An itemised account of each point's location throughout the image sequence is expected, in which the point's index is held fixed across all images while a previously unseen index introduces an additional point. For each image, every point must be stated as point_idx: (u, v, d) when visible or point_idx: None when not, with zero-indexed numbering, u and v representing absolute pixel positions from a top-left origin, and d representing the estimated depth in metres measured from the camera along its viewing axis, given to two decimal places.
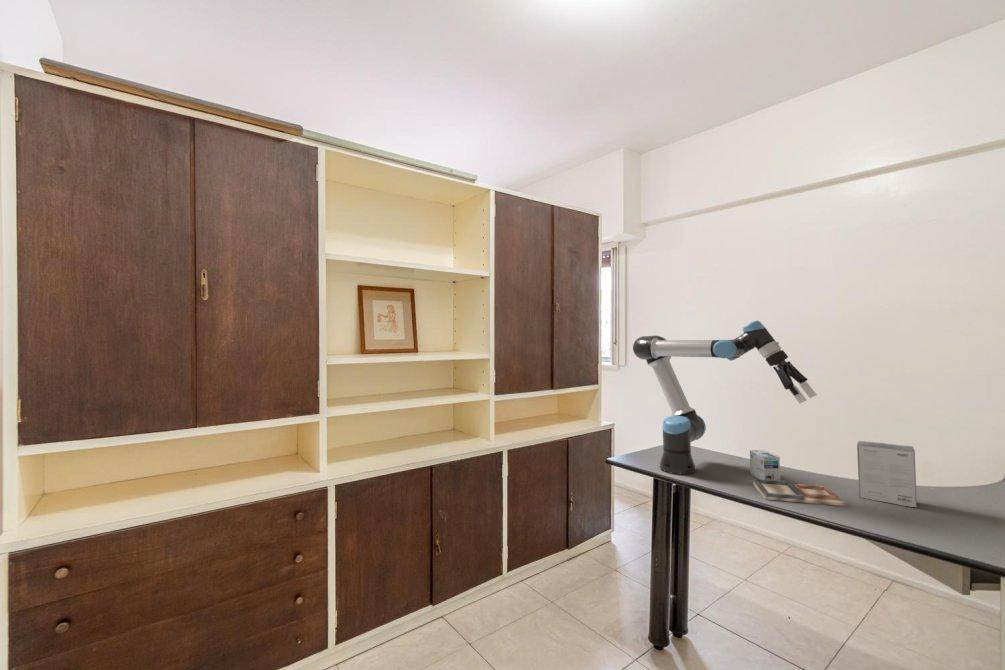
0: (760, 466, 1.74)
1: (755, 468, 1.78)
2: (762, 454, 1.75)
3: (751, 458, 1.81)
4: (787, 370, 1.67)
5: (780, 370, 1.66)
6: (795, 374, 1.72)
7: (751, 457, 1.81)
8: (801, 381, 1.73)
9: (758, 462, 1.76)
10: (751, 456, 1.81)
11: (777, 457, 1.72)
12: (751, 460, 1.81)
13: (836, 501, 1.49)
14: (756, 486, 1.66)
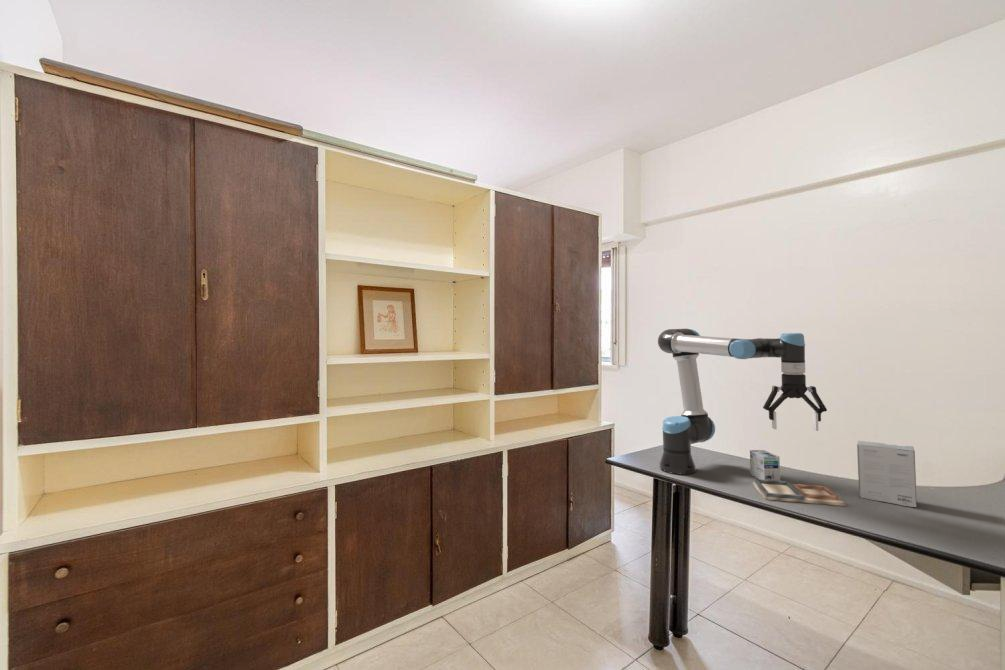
0: (760, 466, 1.74)
1: (755, 468, 1.78)
2: (762, 454, 1.75)
3: (751, 458, 1.81)
4: (784, 395, 1.59)
5: (772, 392, 1.61)
6: (807, 402, 1.57)
7: (751, 457, 1.81)
8: (816, 411, 1.57)
9: (758, 462, 1.76)
10: (751, 456, 1.81)
11: (777, 457, 1.72)
12: (751, 460, 1.81)
13: (836, 501, 1.49)
14: (756, 486, 1.66)
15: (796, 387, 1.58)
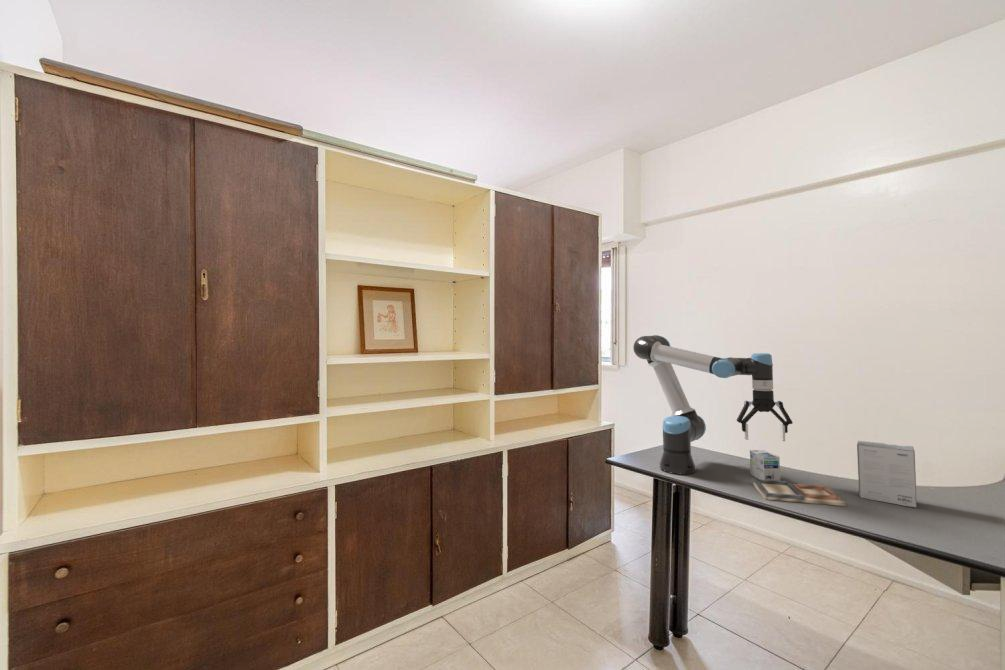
0: (760, 466, 1.74)
1: (755, 468, 1.78)
2: (762, 454, 1.75)
3: (751, 458, 1.81)
4: (754, 409, 1.76)
5: (744, 406, 1.78)
6: (775, 415, 1.75)
7: (751, 457, 1.81)
8: (783, 423, 1.75)
9: (758, 462, 1.76)
10: (751, 456, 1.81)
11: (777, 457, 1.72)
12: (751, 460, 1.81)
13: (836, 501, 1.49)
14: (756, 486, 1.66)
15: (765, 402, 1.76)
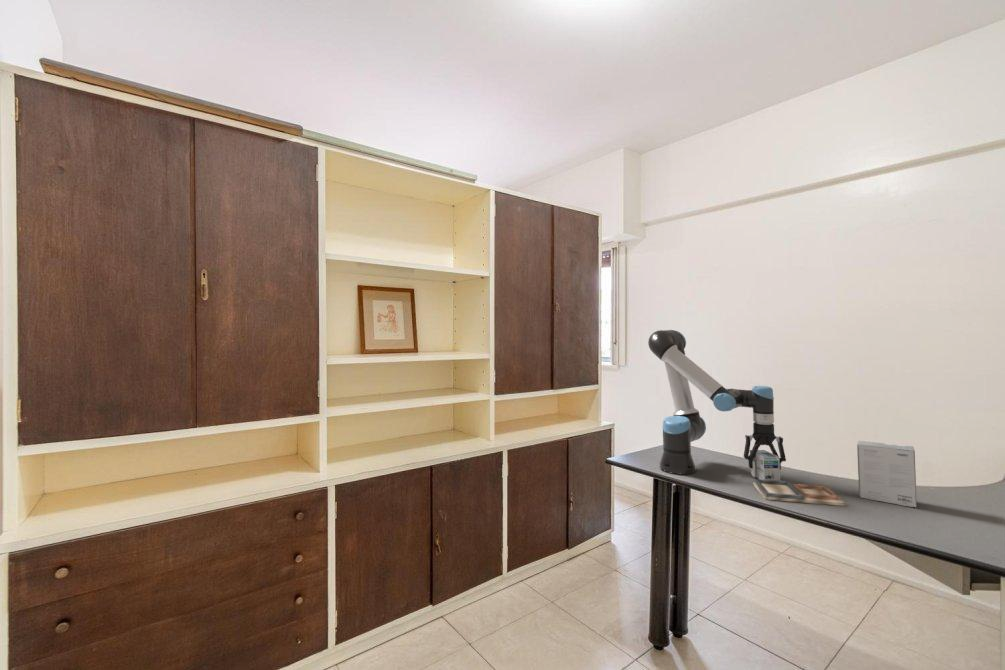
0: (760, 466, 1.74)
1: (755, 467, 1.78)
2: (762, 454, 1.75)
3: None
4: (756, 444, 1.76)
5: (746, 442, 1.78)
6: (772, 450, 1.76)
7: None
8: None
9: (758, 462, 1.76)
10: None
11: (777, 457, 1.72)
12: None
13: (836, 501, 1.49)
14: (756, 486, 1.66)
15: (766, 434, 1.76)
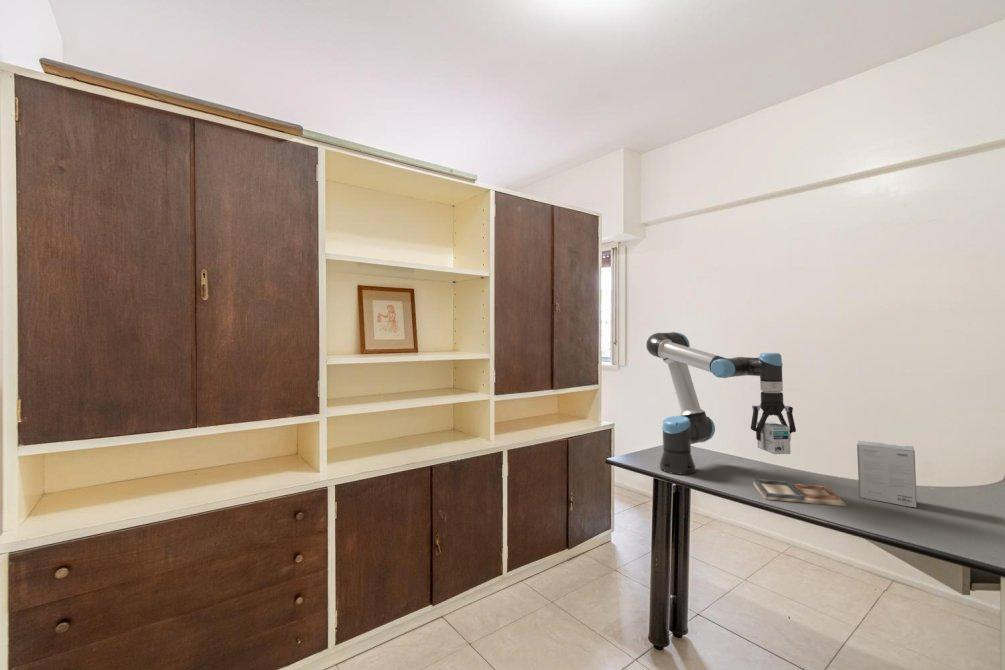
0: (769, 437, 1.63)
1: (763, 440, 1.67)
2: (771, 425, 1.64)
3: None
4: (765, 414, 1.65)
5: (754, 412, 1.67)
6: (781, 421, 1.65)
7: None
8: None
9: (767, 433, 1.65)
10: None
11: (787, 427, 1.61)
12: None
13: (836, 501, 1.49)
14: (756, 486, 1.66)
15: (775, 403, 1.65)
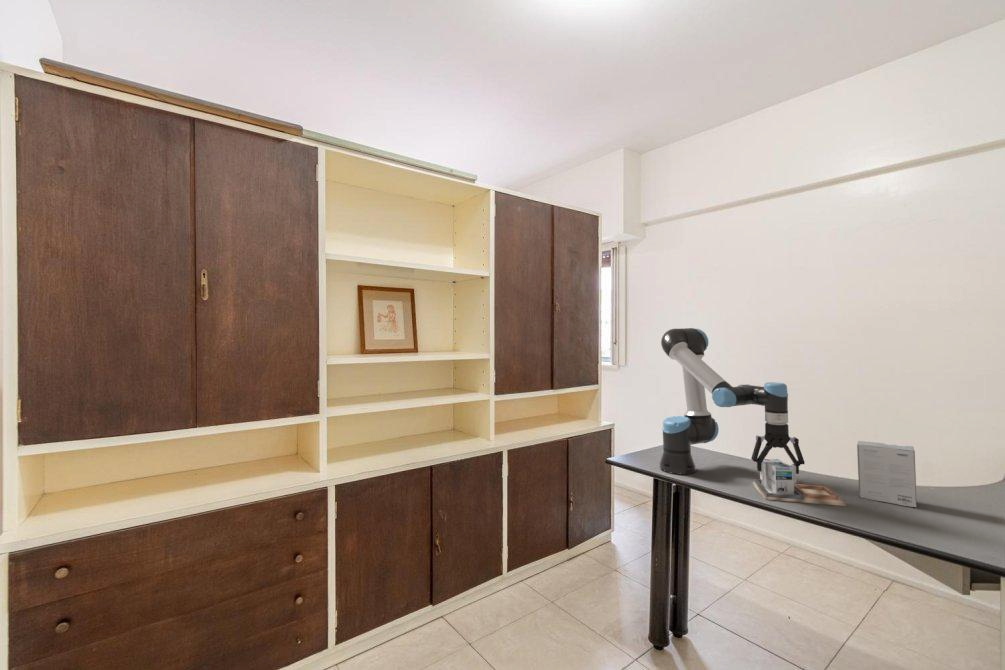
0: (771, 477, 1.58)
1: (766, 478, 1.62)
2: (774, 464, 1.59)
3: None
4: (768, 446, 1.60)
5: (757, 443, 1.62)
6: (787, 453, 1.59)
7: None
8: (794, 463, 1.59)
9: (769, 472, 1.60)
10: None
11: (791, 467, 1.55)
12: None
13: (836, 501, 1.49)
14: (756, 486, 1.66)
15: (779, 436, 1.59)
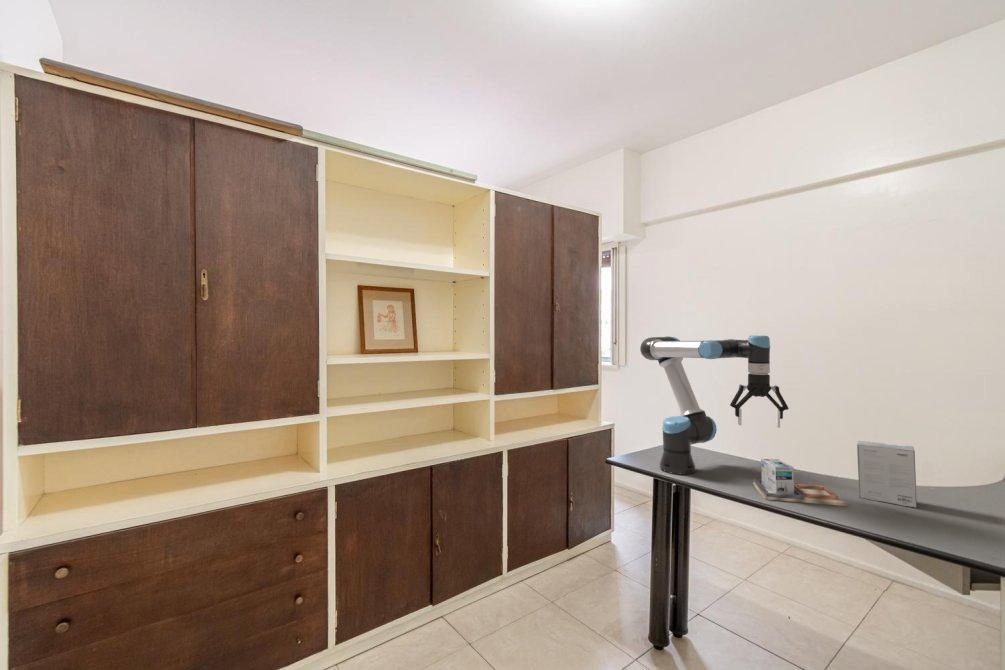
0: (771, 477, 1.58)
1: (766, 478, 1.62)
2: (774, 464, 1.59)
3: (762, 468, 1.65)
4: (749, 394, 1.69)
5: (739, 391, 1.71)
6: (771, 400, 1.67)
7: (762, 466, 1.65)
8: (778, 409, 1.67)
9: (769, 472, 1.60)
10: (762, 465, 1.65)
11: (791, 467, 1.55)
12: (762, 470, 1.65)
13: (836, 501, 1.49)
14: (756, 486, 1.66)
15: (761, 386, 1.68)
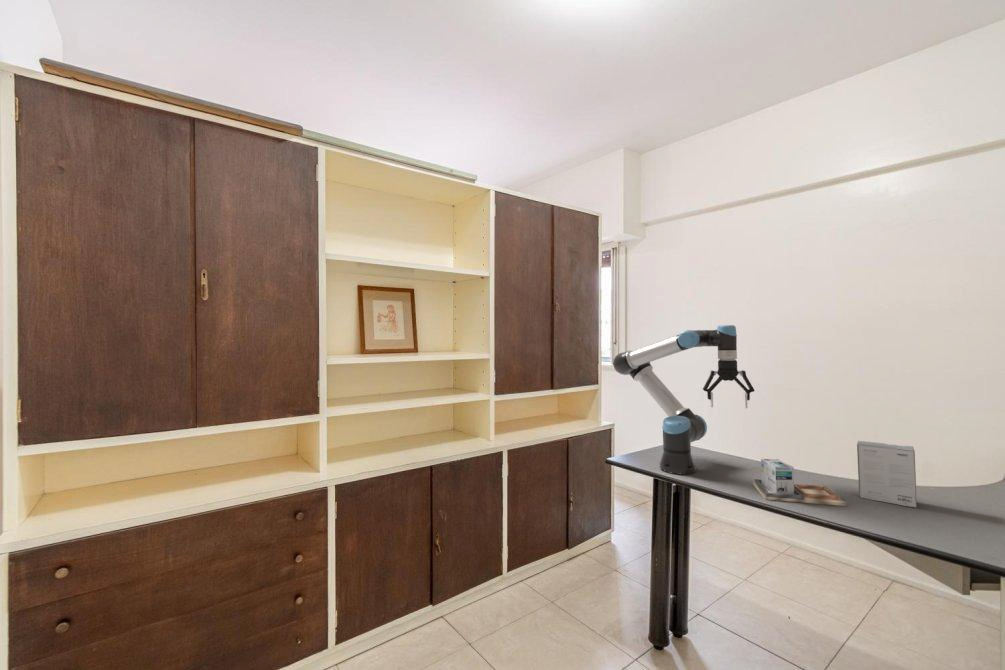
0: (771, 477, 1.58)
1: (766, 478, 1.62)
2: (774, 464, 1.59)
3: (762, 468, 1.65)
4: (719, 378, 1.86)
5: (710, 376, 1.88)
6: None
7: (762, 466, 1.65)
8: (746, 391, 1.84)
9: (769, 472, 1.60)
10: (762, 465, 1.65)
11: (791, 467, 1.55)
12: (762, 470, 1.65)
13: (836, 501, 1.49)
14: (756, 486, 1.66)
15: (729, 371, 1.85)
